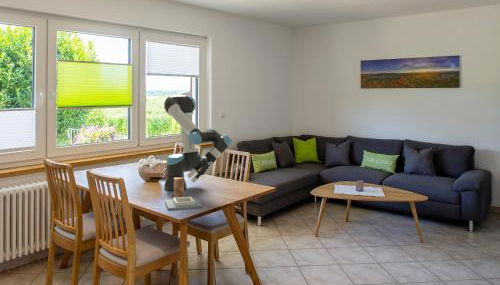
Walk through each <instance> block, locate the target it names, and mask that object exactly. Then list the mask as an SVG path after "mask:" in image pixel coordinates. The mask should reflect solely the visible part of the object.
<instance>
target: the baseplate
mask: <svg viewBox="0 0 500 285" xmlns="http://www.w3.org/2000/svg"><path fill="white" fill-rule="evenodd" d="M164 203H165V205H166V208H167V211H177V210H189V209H203V208H204V205H203V204H202V202H201V200H200V199H199V198H198V197H192V196H184V197H177V198H175V197H172V199H164Z"/></svg>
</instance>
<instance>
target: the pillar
mask: <svg viewBox="0 0 500 285" xmlns="http://www.w3.org/2000/svg"><path fill="white" fill-rule="evenodd" d="M184 179H185V178H184ZM184 179H183V177H175V178H174V191H173V196H174V197H173V198H177V197H185V189H184Z"/></svg>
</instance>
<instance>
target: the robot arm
mask: <svg viewBox="0 0 500 285" xmlns="http://www.w3.org/2000/svg"><path fill="white" fill-rule="evenodd" d="M196 105H197V104H196V100H195V99H194V97H192V96H191V95H188V94H187V95H186V94H184V95H183V94H182V95H181V94H179V95H176V94H173V95H170V96H168V97H166V99H165V101H164V102H163V108H164V110H165V112H166V114H168V116H170V117H172V118H173V119H174V120H175V122H176V123H177V124H178V125H179V126H180V133H181V140H182V147H183V148H182V149H183V151H182V152H181V153H174V154H170V155H168V156H167V158H166V161H167V162H166V164H167V178H165V181H164V182H165V183H164V190H166V191H171V192H172V191H173V192H174V178H175V177H183V179H184V190H186V189H187V182H186V179H185V173H186V172H188V174H187V175H186V176H187V178H189V179H190V181H191V183H193V184H195V183H196V182H197V181H198V180H199V178H200V177H201V176H204V175H205V173H206V172H207V171H208V169H209V168H210V167H211V165H212V164H215V162H216V161H217V159H218V158H220V157H221V156H222V154H223V153H224V152H225V151H226V150H227V149H228V148H229V147H230V146H231V145H232V143H233V140H232V138H230V136H229V135H228V134H225V133H224V134H223V135H222V134H221V133H219V132H218V131H217V130H216V129H214V128H212V127H211V128H208V129H206V131H201V130H200V129H199V128H198V126H197V125H196V124H195V123H194V122H193V118H192V116H193V114H194V112H195V109H196ZM209 143H212V144H214V145H212V146H211V148H210V149H209V151H207V152H206V153H205V155H204V157H203V156H202V155H201V154H200V153H199V151H198V150H197V148H196V145H201V144H209Z"/></svg>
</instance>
